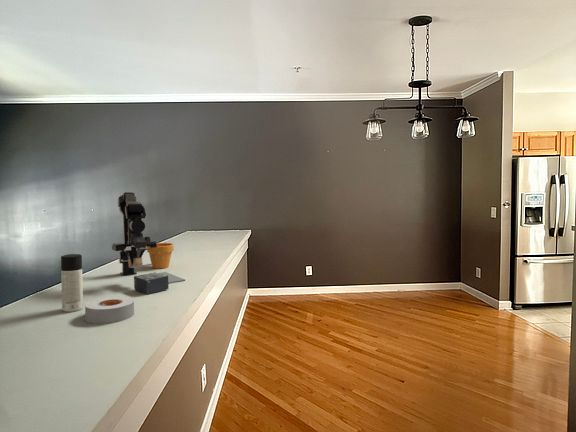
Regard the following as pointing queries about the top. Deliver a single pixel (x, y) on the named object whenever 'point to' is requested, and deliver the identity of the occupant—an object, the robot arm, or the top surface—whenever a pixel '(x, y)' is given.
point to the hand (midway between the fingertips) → (135, 263)
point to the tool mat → (172, 278)
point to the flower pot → (160, 255)
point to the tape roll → (109, 310)
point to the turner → (137, 263)
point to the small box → (150, 283)
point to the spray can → (71, 282)
